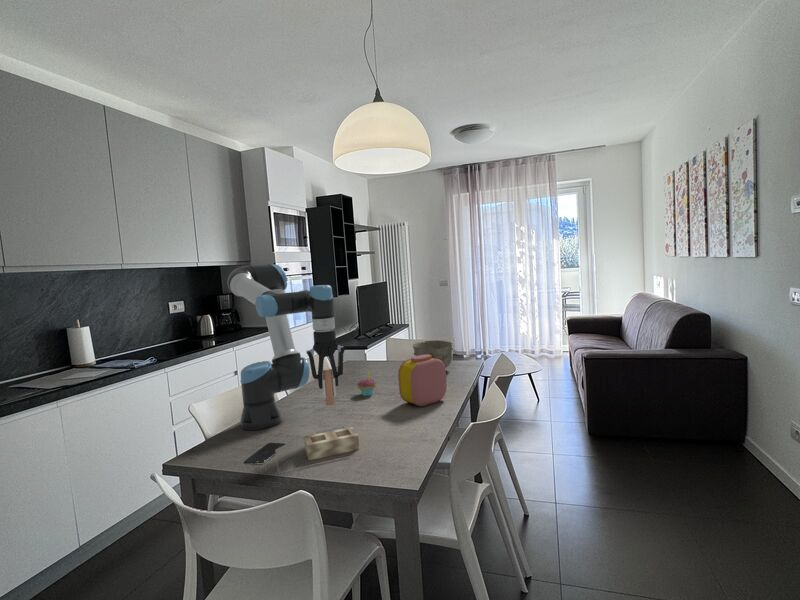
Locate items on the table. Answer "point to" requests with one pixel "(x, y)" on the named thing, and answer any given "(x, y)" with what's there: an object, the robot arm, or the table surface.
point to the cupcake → (367, 386)
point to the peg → (328, 386)
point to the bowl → (435, 350)
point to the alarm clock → (422, 380)
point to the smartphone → (264, 453)
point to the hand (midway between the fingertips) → (329, 396)
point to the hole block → (331, 443)
